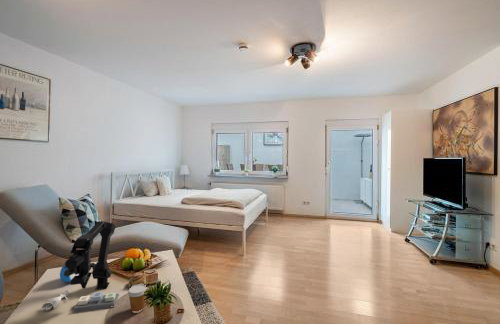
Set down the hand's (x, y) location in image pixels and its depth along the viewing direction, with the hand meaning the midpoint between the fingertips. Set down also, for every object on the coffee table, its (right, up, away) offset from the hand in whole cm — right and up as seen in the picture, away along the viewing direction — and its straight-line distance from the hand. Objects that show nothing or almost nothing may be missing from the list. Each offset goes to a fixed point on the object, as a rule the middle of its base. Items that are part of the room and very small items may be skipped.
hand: (83, 288), depth 135 cm
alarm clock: (-25, -8, +25) cm, 36 cm away
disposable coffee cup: (+31, -11, -2) cm, 33 cm away
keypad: (+6, -10, +2) cm, 12 cm away
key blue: (+6, -7, +2) cm, 9 cm away
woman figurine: (-17, -10, +2) cm, 19 cm away
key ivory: (0, -8, +1) cm, 8 cm away
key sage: (+12, -8, +4) cm, 15 cm away
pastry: (+21, -10, +23) cm, 33 cm away
